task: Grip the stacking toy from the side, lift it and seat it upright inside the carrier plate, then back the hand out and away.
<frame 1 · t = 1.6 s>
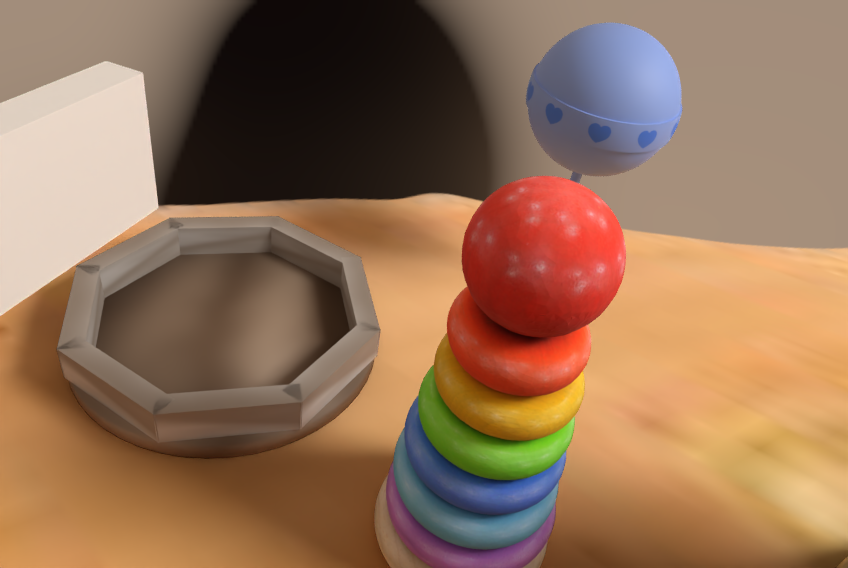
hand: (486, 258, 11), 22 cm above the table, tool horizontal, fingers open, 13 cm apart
stacking toy: (457, 533, 32), on the table
baby rattle: (542, 291, 48), on the table
carrier plate: (229, 337, 40), on the table
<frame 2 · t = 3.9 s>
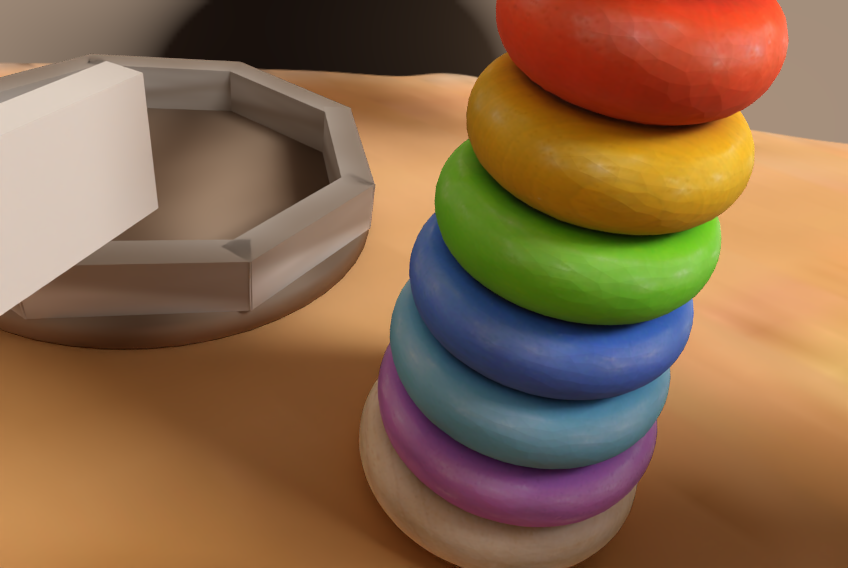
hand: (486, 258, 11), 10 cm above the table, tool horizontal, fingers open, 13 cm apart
stacking toy: (489, 465, 20), on the table
carrier plate: (162, 204, 28), on the table
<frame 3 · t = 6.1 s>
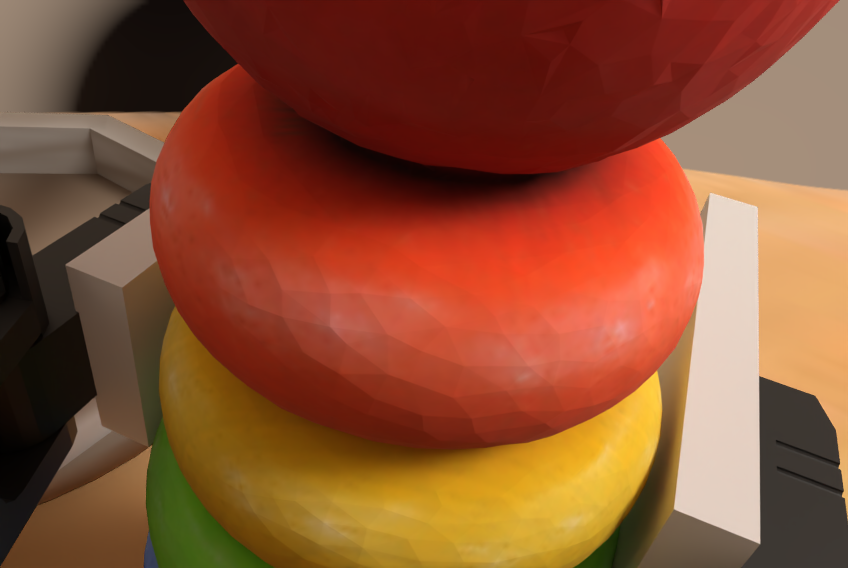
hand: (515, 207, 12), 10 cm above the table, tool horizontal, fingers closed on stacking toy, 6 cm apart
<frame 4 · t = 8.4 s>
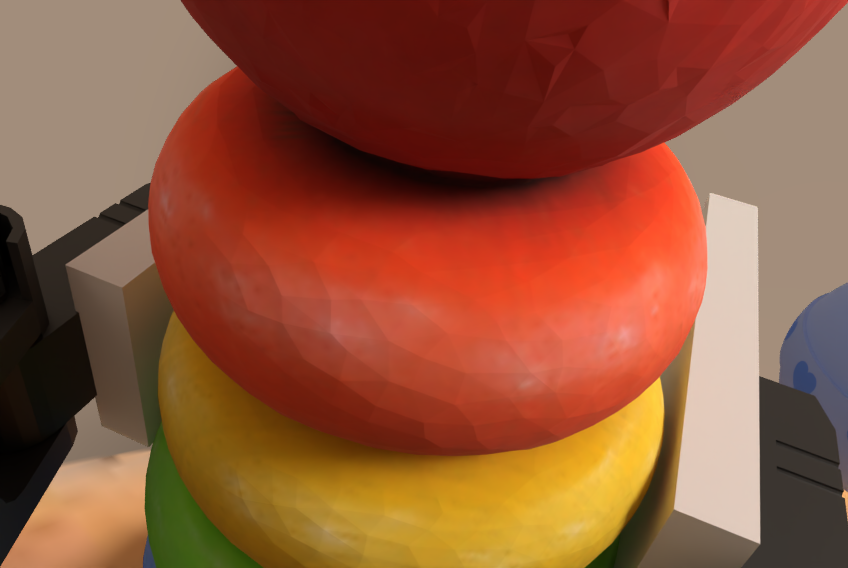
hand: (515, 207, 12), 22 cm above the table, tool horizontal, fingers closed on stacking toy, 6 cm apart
when the fingers open (12 cm above the table, at t = 10.8 s): stacking toy drops 1 cm, resting on carrier plate.
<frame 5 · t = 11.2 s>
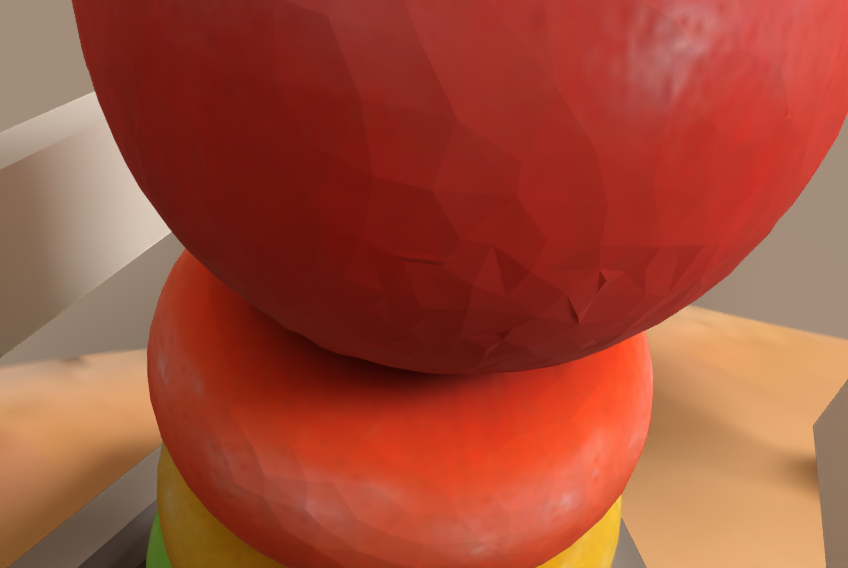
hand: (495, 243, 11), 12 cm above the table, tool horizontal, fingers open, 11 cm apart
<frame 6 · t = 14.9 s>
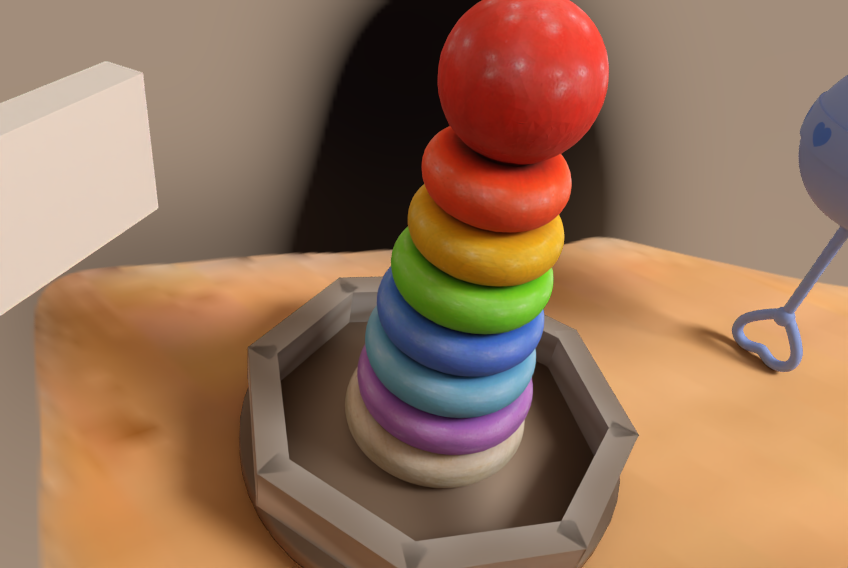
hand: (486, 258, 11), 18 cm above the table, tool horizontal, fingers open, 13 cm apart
stacking toy: (430, 424, 31), point 1 cm above the table, touching carrier plate
baby rattle: (762, 364, 40), on the table
carrier plate: (430, 435, 32), on the table
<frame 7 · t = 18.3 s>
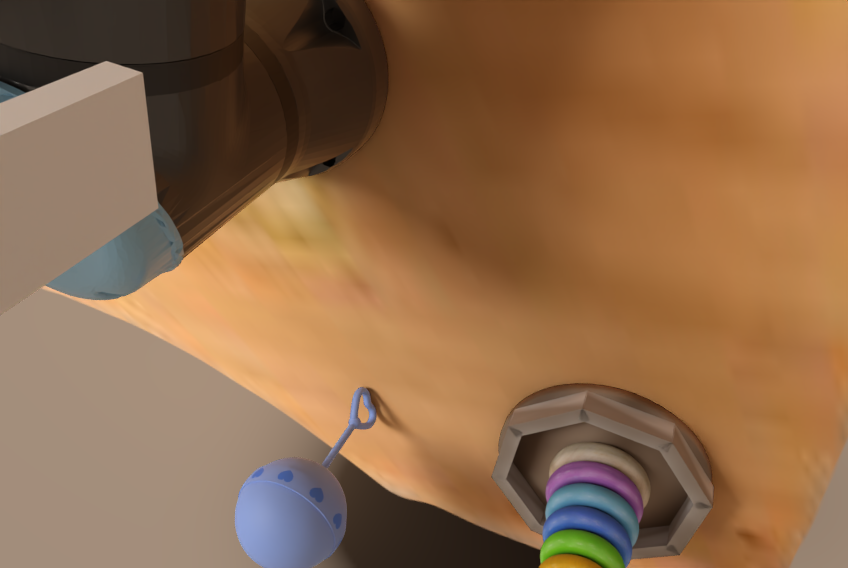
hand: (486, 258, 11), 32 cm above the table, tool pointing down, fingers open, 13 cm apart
stacking toy: (601, 471, 56), point 1 cm above the table, touching carrier plate
baby rattle: (369, 393, 63), on the table
carrier plate: (600, 463, 57), on the table
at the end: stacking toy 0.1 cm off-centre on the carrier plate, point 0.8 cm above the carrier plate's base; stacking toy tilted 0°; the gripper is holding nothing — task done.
